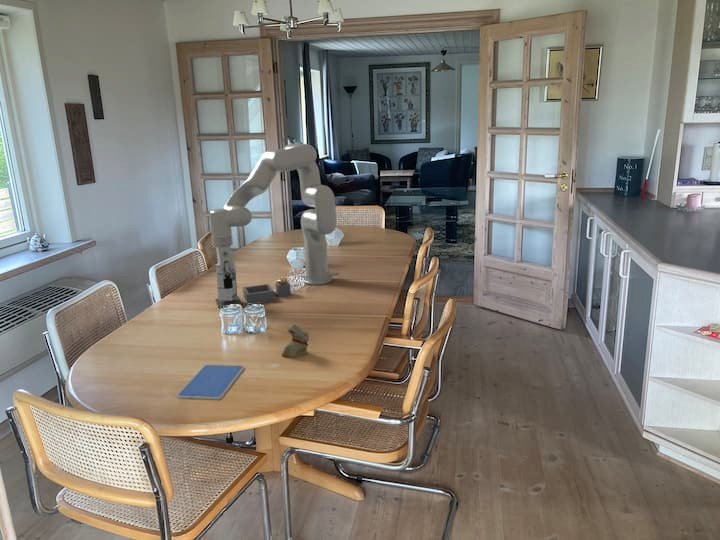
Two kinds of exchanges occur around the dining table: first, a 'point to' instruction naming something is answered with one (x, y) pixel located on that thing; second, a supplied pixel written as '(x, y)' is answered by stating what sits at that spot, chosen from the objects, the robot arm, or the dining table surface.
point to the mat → (228, 302)
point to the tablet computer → (211, 382)
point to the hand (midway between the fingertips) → (227, 285)
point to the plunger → (282, 280)
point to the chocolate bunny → (296, 343)
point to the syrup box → (222, 292)
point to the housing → (265, 292)
